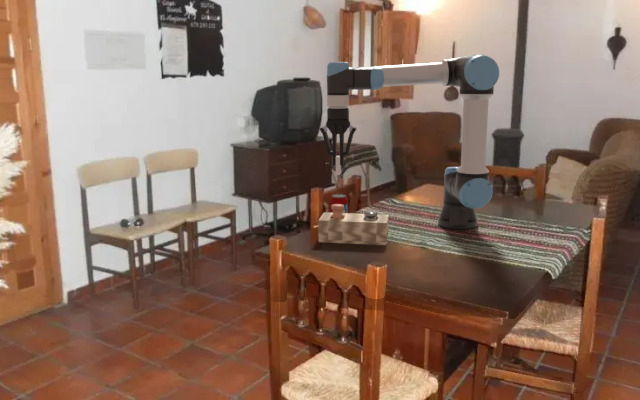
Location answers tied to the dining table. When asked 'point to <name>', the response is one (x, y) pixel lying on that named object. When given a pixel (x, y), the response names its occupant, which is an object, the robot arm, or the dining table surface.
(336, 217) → the terracotta plug
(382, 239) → the block
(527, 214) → the dining table surface
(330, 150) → the robot arm
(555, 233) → the dining table surface
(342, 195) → the beverage can
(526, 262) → the dining table surface
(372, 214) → the grey plug
